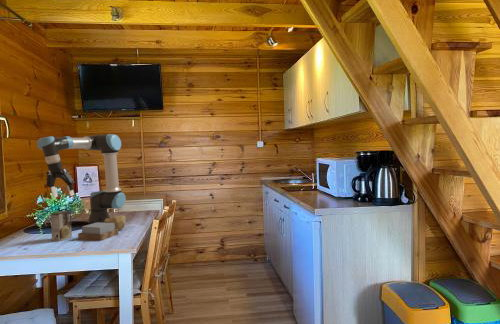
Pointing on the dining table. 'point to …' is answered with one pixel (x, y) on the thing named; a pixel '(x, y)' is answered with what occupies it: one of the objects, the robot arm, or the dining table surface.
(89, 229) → the slate top block
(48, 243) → the dining table surface
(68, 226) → the coffee box
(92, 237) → the walnut base block
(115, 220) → the low-poly potato
